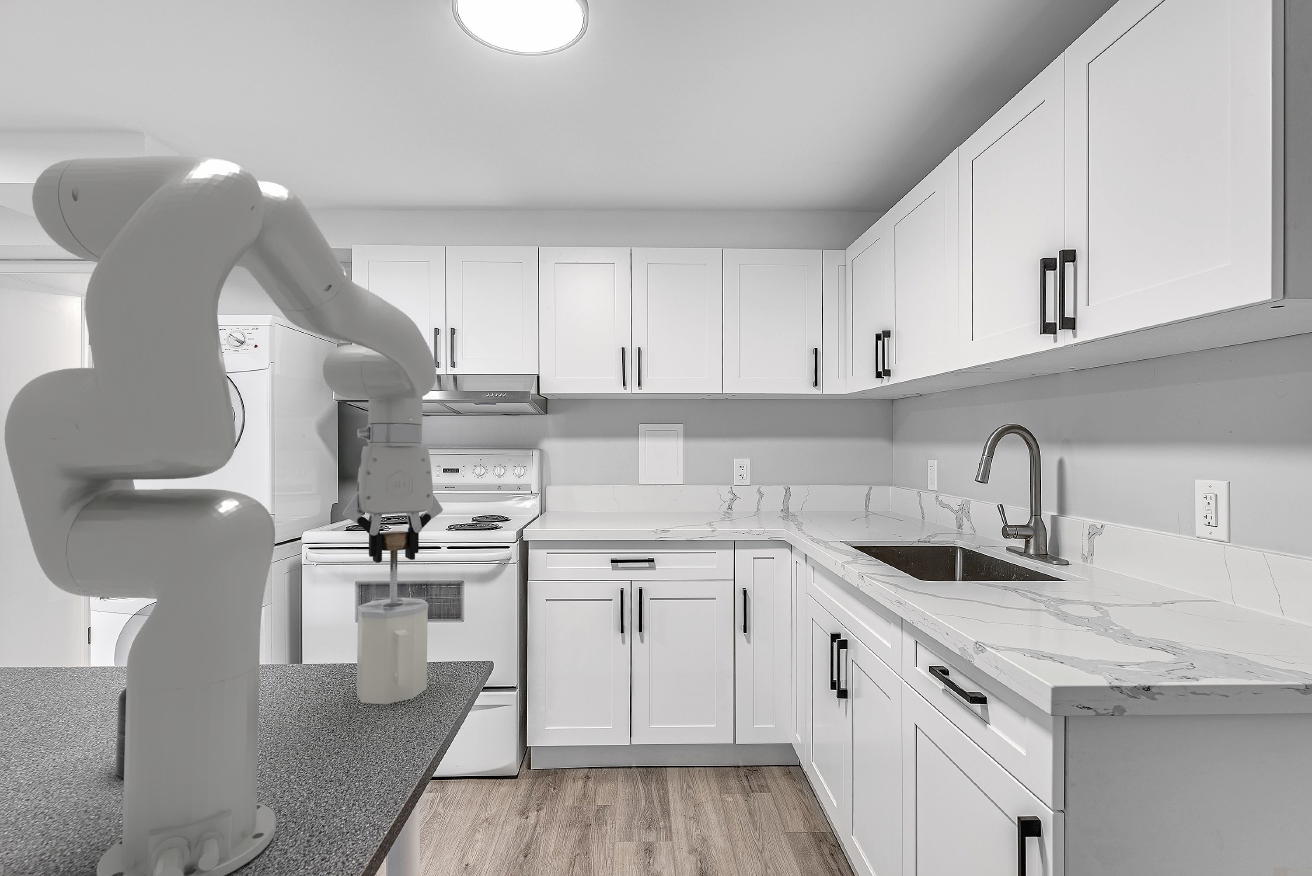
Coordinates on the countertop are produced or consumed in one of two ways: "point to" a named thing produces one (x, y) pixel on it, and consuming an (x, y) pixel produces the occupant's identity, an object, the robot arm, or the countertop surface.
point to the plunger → (394, 557)
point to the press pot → (392, 650)
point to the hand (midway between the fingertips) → (393, 558)
